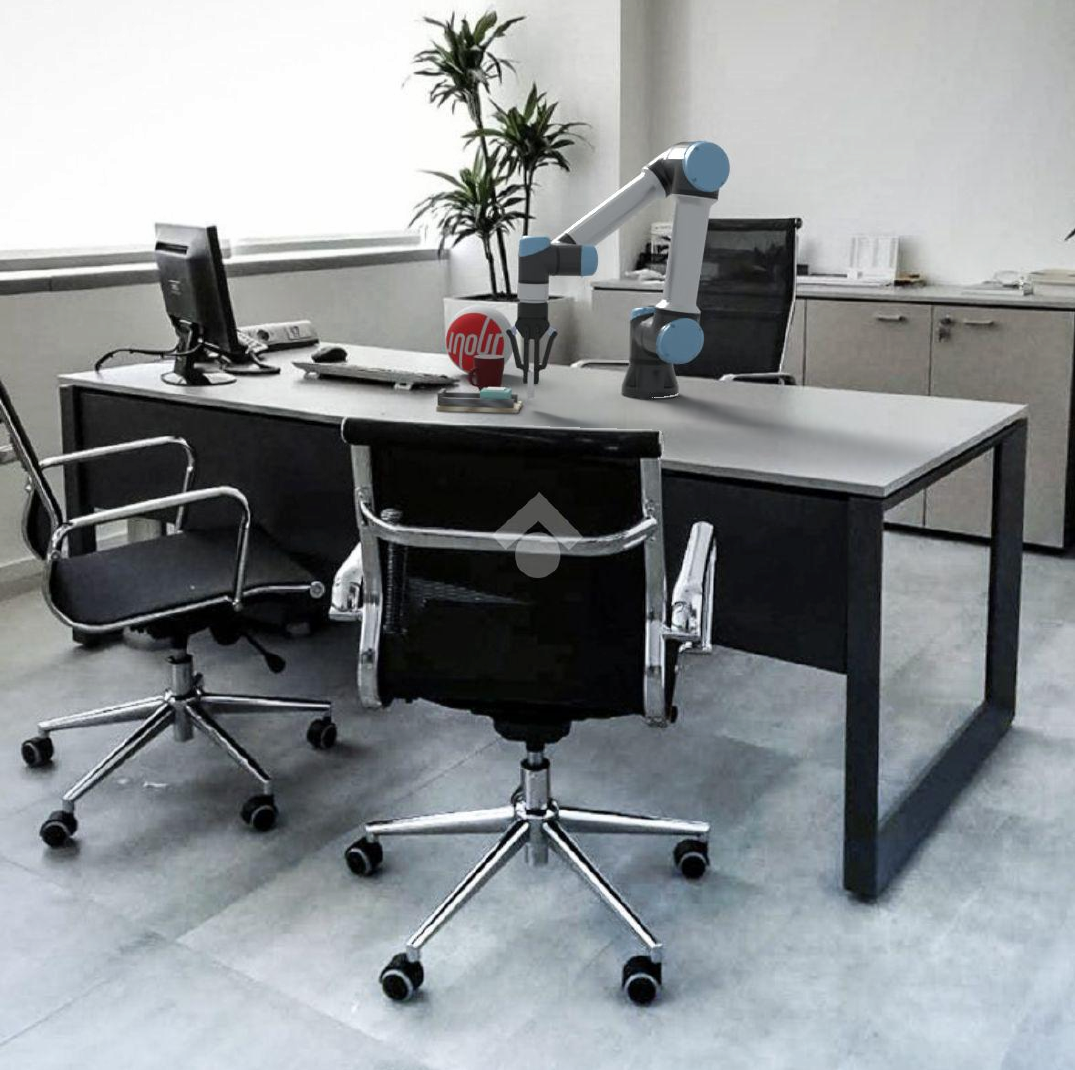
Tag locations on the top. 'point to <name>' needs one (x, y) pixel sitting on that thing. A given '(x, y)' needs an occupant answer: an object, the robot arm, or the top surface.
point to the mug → (487, 371)
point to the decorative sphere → (477, 336)
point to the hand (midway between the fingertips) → (530, 397)
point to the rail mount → (475, 403)
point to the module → (496, 393)
